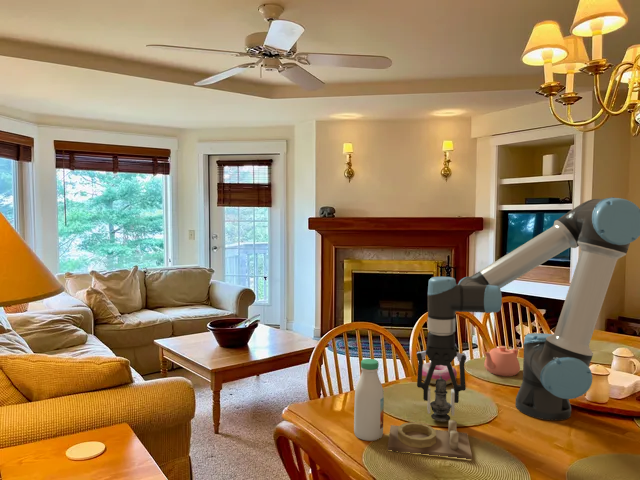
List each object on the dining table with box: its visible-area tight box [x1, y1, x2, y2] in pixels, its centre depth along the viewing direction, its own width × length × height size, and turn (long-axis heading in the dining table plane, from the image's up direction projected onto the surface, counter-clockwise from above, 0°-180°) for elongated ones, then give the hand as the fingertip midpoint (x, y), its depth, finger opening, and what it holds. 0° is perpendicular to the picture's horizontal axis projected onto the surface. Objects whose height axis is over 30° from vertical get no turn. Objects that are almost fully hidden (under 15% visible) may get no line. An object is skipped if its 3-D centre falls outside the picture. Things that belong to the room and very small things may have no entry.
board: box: [387, 419, 473, 460], centre depth 121 cm, size 20×12×5 cm, turn 78°
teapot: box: [483, 345, 521, 377], centre depth 176 cm, size 12×18×10 cm
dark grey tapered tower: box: [430, 376, 451, 422], centre depth 134 cm, size 6×6×12 cm
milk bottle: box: [353, 358, 385, 442], centre depth 125 cm, size 8×8×20 cm
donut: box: [422, 361, 458, 385], centre depth 167 cm, size 14×13×5 cm
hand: (440, 412), depth 134 cm, fingers closed on dark grey tapered tower, 6 cm apart
